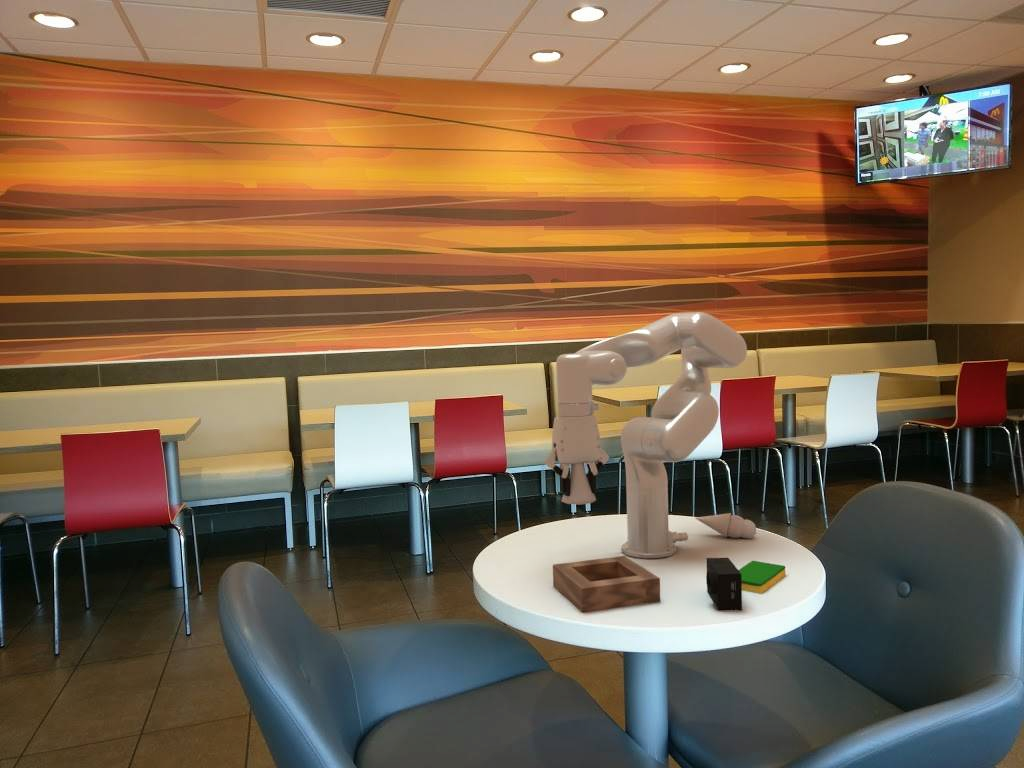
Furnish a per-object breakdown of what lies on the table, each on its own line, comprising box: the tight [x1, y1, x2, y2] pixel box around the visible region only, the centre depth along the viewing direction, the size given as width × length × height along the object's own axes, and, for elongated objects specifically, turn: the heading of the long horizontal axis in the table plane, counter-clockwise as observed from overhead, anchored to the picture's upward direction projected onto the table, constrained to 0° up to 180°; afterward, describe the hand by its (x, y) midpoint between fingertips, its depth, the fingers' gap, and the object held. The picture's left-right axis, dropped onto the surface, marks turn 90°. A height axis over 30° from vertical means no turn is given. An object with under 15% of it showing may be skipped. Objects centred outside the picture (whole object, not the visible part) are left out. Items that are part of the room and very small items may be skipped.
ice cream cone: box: [694, 512, 757, 539], centre depth 189 cm, size 6×6×15 cm
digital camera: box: [705, 557, 743, 612], centre depth 145 cm, size 10×5×7 cm, turn 177°
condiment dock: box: [552, 555, 661, 613], centre depth 151 cm, size 16×16×4 cm
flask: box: [561, 463, 597, 506], centre depth 166 cm, size 7×7×10 cm
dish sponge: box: [738, 560, 786, 594], centre depth 156 cm, size 7×14×2 cm, turn 141°
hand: (578, 492), depth 166 cm, fingers closed on flask, 5 cm apart
